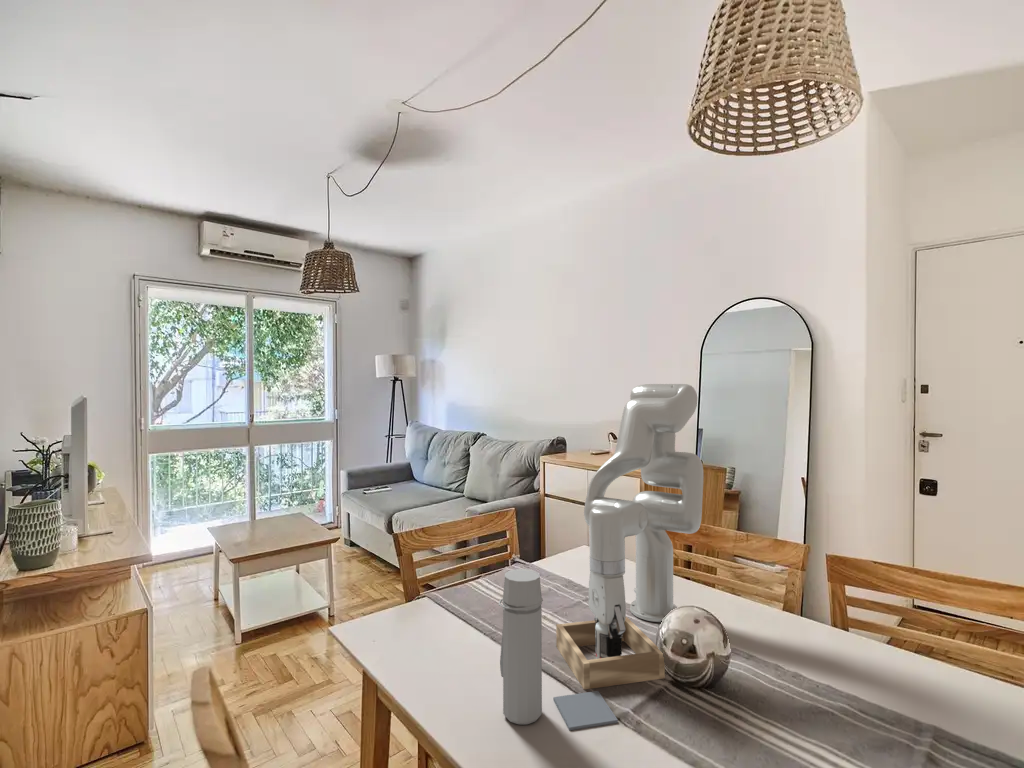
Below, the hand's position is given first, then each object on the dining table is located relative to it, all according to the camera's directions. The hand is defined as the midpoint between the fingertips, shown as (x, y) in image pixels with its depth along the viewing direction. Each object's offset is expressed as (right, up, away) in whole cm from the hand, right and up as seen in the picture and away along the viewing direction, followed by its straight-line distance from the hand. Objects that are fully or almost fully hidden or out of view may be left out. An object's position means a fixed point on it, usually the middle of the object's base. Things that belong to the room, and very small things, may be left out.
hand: (608, 647), depth 111 cm
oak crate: (0, -3, 0) cm, 3 cm away
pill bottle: (0, -3, 0) cm, 3 cm away
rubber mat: (-8, -3, -17) cm, 19 cm away
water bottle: (-20, -3, -18) cm, 27 cm away
